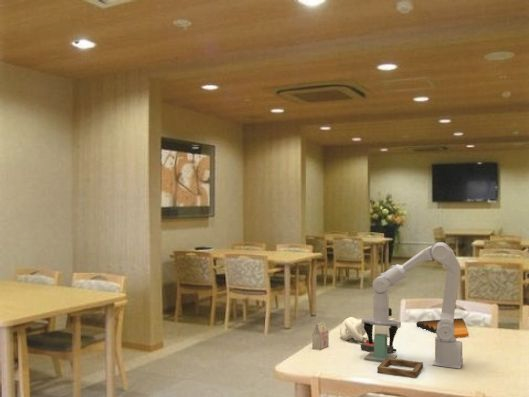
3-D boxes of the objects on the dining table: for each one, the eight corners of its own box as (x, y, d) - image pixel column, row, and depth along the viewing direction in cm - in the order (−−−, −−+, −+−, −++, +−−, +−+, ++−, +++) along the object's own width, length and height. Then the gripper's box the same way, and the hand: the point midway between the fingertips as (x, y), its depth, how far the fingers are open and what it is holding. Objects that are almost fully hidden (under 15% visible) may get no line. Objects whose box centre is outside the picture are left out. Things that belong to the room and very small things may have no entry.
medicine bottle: (395, 334, 249) (395, 307, 249) (389, 337, 243) (389, 309, 243) (379, 332, 253) (380, 305, 253) (374, 335, 247) (374, 308, 247)
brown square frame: (422, 368, 197) (422, 362, 197) (415, 378, 185) (415, 372, 185) (386, 363, 203) (386, 357, 203) (377, 372, 191) (377, 367, 191)
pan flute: (459, 324, 272) (416, 327, 264) (459, 317, 273) (416, 320, 264) (496, 335, 249) (449, 339, 241) (496, 328, 249) (449, 332, 241)
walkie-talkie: (399, 352, 218) (357, 343, 232) (399, 341, 219) (357, 333, 232) (387, 357, 212) (344, 347, 226) (387, 345, 212) (344, 336, 226)
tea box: (312, 348, 223) (312, 323, 223) (320, 345, 228) (320, 321, 228) (320, 350, 220) (320, 325, 221) (328, 346, 226) (328, 322, 226)
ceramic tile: (397, 356, 211) (397, 354, 211) (390, 363, 202) (390, 361, 202) (371, 353, 216) (371, 351, 216) (364, 359, 207) (364, 357, 207)
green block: (387, 355, 210) (387, 334, 210) (384, 358, 206) (384, 336, 206) (376, 354, 212) (376, 333, 212) (374, 356, 208) (374, 335, 208)
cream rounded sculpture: (360, 335, 246) (360, 315, 246) (374, 342, 234) (374, 320, 234) (337, 337, 242) (337, 316, 242) (349, 344, 231) (350, 322, 231)
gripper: (359, 308, 209) (359, 344, 209) (397, 312, 203) (397, 349, 202) (364, 305, 215) (364, 340, 215) (402, 308, 209) (402, 345, 209)
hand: (380, 344), depth 209 cm, fingers open, 7 cm apart
